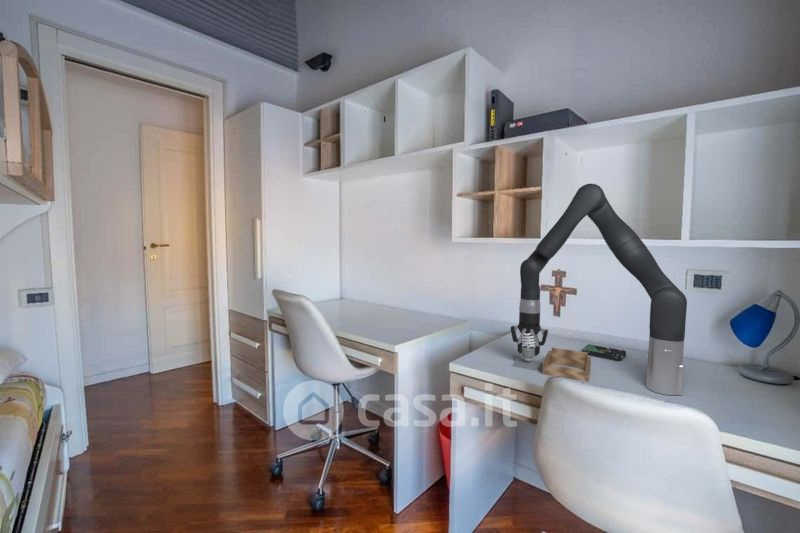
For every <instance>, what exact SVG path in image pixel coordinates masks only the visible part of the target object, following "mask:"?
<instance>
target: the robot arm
mask: <svg viewBox="0 0 800 533" xmlns="http://www.w3.org/2000/svg"><path fill="white" fill-rule="evenodd" d="M586 216H587V217H588V218H589V219H590V221H592V223H593V224H595V226H596V227H597V229H598V231H599V232H600V234H601V236H602V238H603V240H604V243H606V245H607V247H608V249H609V250H610V251H611V252H612V254H613V255H614V257H615V258H616V259H617V261H618V262H619V263H620V264H621V265H622V267H623V268H625V269H626V270H627V272H628V273H630V275H632V276H633V277H634V278H635V279H636V280H637V281H639V283H640V284H641V286H642V287H643V289H644V290H645V291H646V293H647V294H648V296H649V298H650V308H649V336H648V350H647V352H648V353H647V366H646V368H647V369H646V380H645V382H646V383H645V384H646V386H645V387H646V389H648V390H649V391H652V392H655V393H657V394H662V395H667V396H683V383H684V373H685V372H684V370H685V369H684V368H685V366H684V364H683V362H684V361H683V360H684V350H685V347H684V346H685V336H686V322H687V320H686V319H687V308H688V299H687V297H686V295H685V293H683V291H682V290H680V289H679V287H677V285H676V284H674V283H673V282H672V281H671V279H669V277H668V276H667V275H666V274H665V273H664V272H663V270H662V269H661V267H660V265H659V264H658V262H657V261H656V259H655V258H654V256H653V254H652V253H651V251H650V250H649V249H648V247H647V246H646V244H645V243H644V242H643V240H642V239H641V238H640V237H639V235H638V234H637V233H636V232H635V231H634V230H633V228H631V226H629V225H628V224H627V223H626V222H625V221H624V219H622V218H621V217H620V216H619V215H618V214H617V213H616V211H615V210H614V209H613V207H612V205H611V204H610V202H609V200H608V199H607V197H606V194H605V192H604V190H603V188H602V187H601V186H600V185H598V184H597V183H586V184H584V185H581V187H579V188H578V189H577V190H576V192H575V194H574V196H573V198H572V199H571V201H570V202H569V204H568V206H567V207H566V209H565V211H564V212H563V213H562V215H561V216H560V217H559V219H558V220H557V221H556V222H555V223H554V225H553V226H552V227H551V228H550V229H549V230H548V232H547V233H546V234H545V235H544V236H543V238H542V239H541V241H540V242H538V244H537V246H536V247H535V250H533V252H531V254H530V255H529V256H528V257H527V258H526V259H525V260H523V261H522V262H521V264H520V267H519V268H520V269H519V270H520V271H519V273H520V274H519V275H520V277H519V278H520V284H521V286H520V299H519V307H518V310H519V312H518V313H519V315H518V324H517V325H513V324H512V325H511V326H510V333H511V339H512V342H514V343H516V344H517V352H518V353H519V354H521V355H522V353H521V348H522V347H523V344H522V343H521V342H522V339H523V338H522V337H523V336H525V335H523V334H524V333H526V334H528V333H530V332H531V335H528V336H534V338H533V339H534V342H535V344H536V345H535V346H534V348H535V357H538V355H539V354H540V352H541V351H540V350H541V349H540V348H541V346H544V345H545V344H546V341H547V337H548V334H549V329H547V328H542V327H541V286H540V273H541V272H542V271H543V270H544V268H545V267H546V265H547V264H548V263H549V261H550V260H552V258H553V257H555V255H557V253H558V252H559V251H560V249H562V247H563V246H564V245H565V244H566V242H567V241H568V239H569V238H570V236H571V234H572V233H573V231H574V230H575V228H576V227H577V226H578V225H579V224H580V222H581V221H582V220H583V219H584V218H585V217H586ZM517 330H518V331H519V332H520V336H519V338H518V337H517V336H518V335H517ZM539 333H541V335H542V337H541V341H540V340H539V339H540V338H539V335H538V334H539Z"/></svg>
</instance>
